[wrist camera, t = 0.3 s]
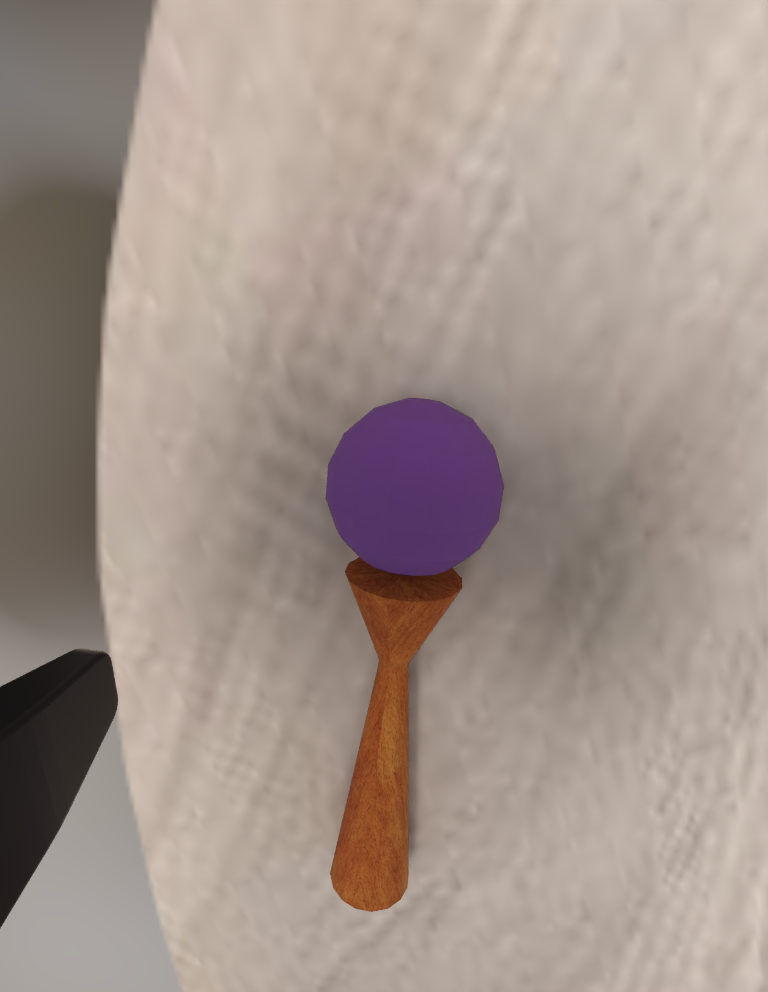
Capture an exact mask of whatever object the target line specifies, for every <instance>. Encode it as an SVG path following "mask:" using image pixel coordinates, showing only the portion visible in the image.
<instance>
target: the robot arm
mask: <svg viewBox="0 0 768 992" xmlns="http://www.w3.org/2000/svg"><path fill="white" fill-rule="evenodd" d="M117 705H118V695H117V689H116V683H115V678H114V672H113V666H112V661H111V658H110V656H109V655H108V654H107V653H106V652H103V651H97V650H89V649H75V650H73V651H70V652H68V653H66V654H64V655H62V656H60V657H58V658H56V659H55V660H52V661H50V662H48V663H46V664H44V665H42V666H40V667H38V668H36V669H34V670H32V671H31V672H28V673H27V674H25V675H23V676H21V677H19V678H17V679H15V680H13V681H11V682H9V683H7V684H5V685H3V686H1V687H0V928H1V926H2V924H3V923H4V921H5V920H6V918H7V916H8V915H9V913H10V911H11V910H12V908H13V906H14V905H15V903H16V901H17V900H18V898H19V896H20V895H21V893H22V891H23V890H24V888H25V886H26V885H27V883H28V881H29V880H30V878H31V877H32V875H33V873H34V872H35V870H36V868H37V867H38V865H39V863H40V862H41V860H42V858H43V857H44V855H45V853H46V851H47V850H48V848H49V847H50V845H51V843H52V841H53V840H54V838H55V836H56V834H57V833H58V831H59V829H60V827H61V825H62V823H63V821H64V819H65V817H66V815H67V814H68V812H69V810H70V808H71V806H72V804H73V801H74V799H75V797H76V795H77V793H78V791H79V789H80V787H81V785H82V783H83V781H84V779H85V777H86V775H87V772H88V770H89V768H90V766H91V764H92V762H93V760H94V758H95V756H96V754H97V752H98V750H99V747H100V746H101V743H102V741H103V739H104V737H105V735H106V733H107V731H108V729H109V727H110V725H111V723H112V721H113V718H114V716H115V713H116V710H117Z"/></svg>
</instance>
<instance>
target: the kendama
mask: <svg viewBox="0 0 768 992" xmlns="http://www.w3.org/2000/svg"><path fill="white" fill-rule="evenodd" d="M503 488H504V484H503V480H502V477H501V473H500V469H499V465H498V461H497V457H496V453H495V450H494V447H493V445H492V444H491V443H490V441H489V440H488V439H487V437H486V436H485V435H484V434H483V432H482V431H481V430H480V428H479V427H478V426H477V424H476V423H475V422H474V421H473V419H471V418H470V417H468V416H466V415H464V414H462V413H460V412H458V411H457V410H455V409H453V408H451V407H449V406H447V405H446V404H444V403H442V402H439V401H434V400H428V399H417V398H408V399H404V400H400V401H397V402H393V403H390V404H387V405H383V406H380V407H376V408H374V409H373V410H371V411H370V412H369V413H368V414H367V415H366V416H364V417H363V418H362V419H361V420H360V421H358V422H357V423H356V424H355V425H354V426H352V427H351V428H350V429H349V430H348V431H347V432H345V433H344V435H343V437H342V439H341V441H340V443H339V445H338V447H337V449H336V451H335V453H334V454H333V456H332V458H331V460H330V462H329V464H328V476H327V490H326V500H327V503H328V506H329V509H330V511H331V514H332V517H333V520H334V523H335V526H336V529H337V531H338V532H339V534H340V536H341V538H342V539H343V540H344V541H345V542H346V543H347V544H348V546H349V547H350V548H351V549H352V550H353V551H354V552H355V553H356V554H357V555H358V556H359V558H357V559H356V560H354V561H352V562H350V563H349V564H348V566H347V569H346V571H345V573H346V576H347V578H348V581H349V583H350V586H351V588H352V591H353V593H354V596H355V598H356V601H357V603H358V606H359V609H360V611H361V614H362V616H363V619H364V621H365V624H366V626H367V629H368V631H369V634H370V636H371V639H372V642H373V644H374V647H375V649H376V652H377V654H378V657H379V659H380V661H379V665H378V670H377V674H376V678H375V683H374V687H373V691H372V695H371V700H370V704H369V708H368V713H367V717H366V721H365V726H364V730H363V734H362V738H361V743H360V747H359V751H358V756H357V760H356V764H355V769H354V773H353V777H352V781H351V786H350V790H349V794H348V799H347V803H346V807H345V812H344V816H343V820H342V824H341V829H340V833H339V837H338V842H337V846H336V850H335V855H334V859H333V863H332V868H331V872H330V875H331V879H332V884H333V888H334V889H335V891H336V892H337V893H338V895H339V896H340V898H341V899H342V900H343V901H344V902H346V903H348V904H349V905H351V906H352V907H354V908H356V909H360V910H366V911H371V912H373V911H378V910H383V909H388V908H389V907H391V906H392V905H393V904H395V903H396V902H398V901H399V900H400V899H401V897H402V896H403V894H404V892H405V890H406V889H407V885H408V664H409V662H410V661H411V659H412V658H413V657H414V655H415V654H416V652H417V651H418V649H419V648H420V647H421V645H422V644H423V642H424V641H425V640H426V638H427V637H428V635H429V634H430V632H431V631H432V630H433V628H434V627H435V625H436V624H437V623H438V621H439V620H440V618H441V617H442V616H443V614H444V613H445V611H446V610H447V608H448V607H449V606H450V604H451V603H452V601H453V600H454V599H455V597H456V596H457V594H458V593H459V591H460V590H461V589H462V578H461V577H460V576H459V575H458V574H457V573H456V572H455V571H454V570H453V569H452V567H454V566H455V565H457V564H458V563H460V562H462V561H463V560H465V559H466V558H468V557H470V556H471V555H472V554H473V553H475V552H476V551H477V550H478V549H480V548H481V546H482V544H483V543H484V541H485V540H486V538H487V537H488V535H489V534H490V532H491V531H492V529H493V528H494V526H495V524H496V523H497V521H498V519H499V513H500V507H501V500H502V494H503Z"/></svg>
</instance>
